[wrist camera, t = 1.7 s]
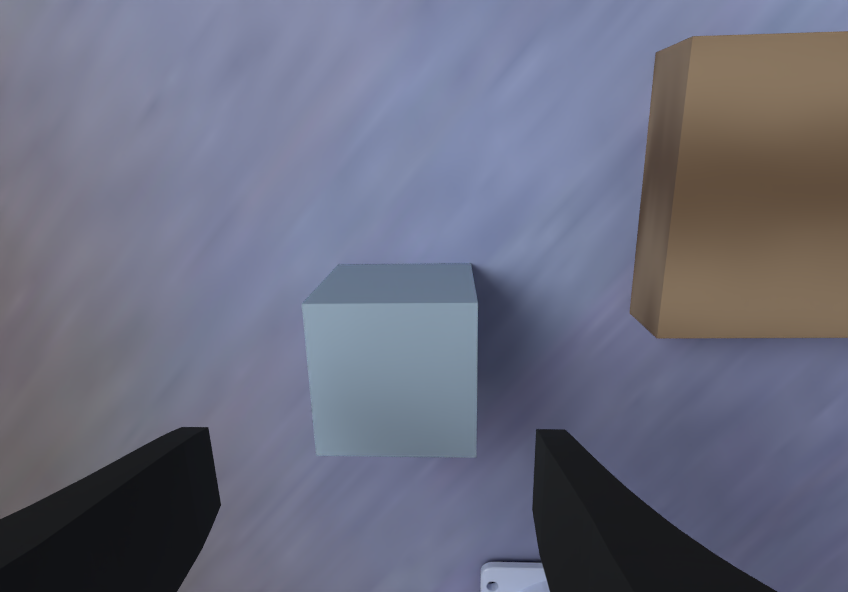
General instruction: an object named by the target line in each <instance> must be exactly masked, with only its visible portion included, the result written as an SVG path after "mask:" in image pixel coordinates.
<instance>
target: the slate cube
mask: <svg viewBox="0 0 848 592" xmlns="http://www.w3.org/2000/svg"><path fill="white" fill-rule="evenodd" d="M302 311H303V322H304V332H305V343H306V353H307V364H308V374H309V385H310V395H311V406H312V416H313V427H314V437H315V448H316V456H378V457H471V458H476V444H477V344H478V301H477V295H476V289H475V284H474V278H473V272H472V267H471V263H441V264H342V265H337V266H336V268H335V269H334V270H333V271H332V272H331V273H330V274H329V275H328V276H327V277H326V278H325V279H324V280H323V282H322V283H321V284H320V285H319V286H318V287H317V288H316V289H315V290H314V291H313V292H312V293H311V294H310V296H309V297H308V298H307V299H306V300H305V301H304V302H303V303H302Z"/></svg>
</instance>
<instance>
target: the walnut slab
mask: <svg viewBox="0 0 848 592" xmlns="http://www.w3.org/2000/svg"><path fill="white" fill-rule="evenodd" d="M630 314H631V315H632V316H633V317H634V318H635V319H636V320H638V321H639V322H640V323H641V324H642V325H643V326H644V327H645V328H646V329H647V330H648V331H649V332H650V333H652V334H653V335H654V336H655V337H656V338H848V31H844V32H813V33H782V34H751V35H720V36H692V37H690V38H688V39H686V40H683V41H681V42H679V43H677V44H674V45H672V46H670V47H668V48H665V49H663V50H661V51H659V52H656V55H655V65H654V75H653V85H652V95H651V105H650V115H649V125H648V135H647V145H646V155H645V165H644V175H643V184H642V194H641V204H640V214H639V224H638V234H637V244H636V254H635V264H634V274H633V284H632V294H631V304H630Z"/></svg>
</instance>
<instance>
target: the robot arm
mask: <svg viewBox="0 0 848 592" xmlns="http://www.w3.org/2000/svg"><path fill="white" fill-rule="evenodd" d="M220 506H221V502H220V496H219V490H218V484H217V478H216V472H215V466H214V459H213V453H212V447H211V441H210V435H209V429H208V427H181V428H178V429H176V430H174V431H171V432H169V433H167V434H165V435H163V436H161V437H159V438H157V439H155V440H153V441H151V442H150V443H148V444H146V445H144V446H142V447H140V448H138V449H137V450H135V451H133V452H131V453H129V454H127V455H126V456H124V457H122V458H120V459H118V460H116V461H115V462H113V463H111V464H109V465H107V466H105V467H103V468H102V469H100V470H98V471H96V472H94V473H92V474H91V475H89V476H87V477H85V478H83V479H81V480H79V481H77V482H75V483H73V484H71V485H69V486H67V487H65V488H63V489H61V490H59V491H58V492H56V493H54V494H52V495H50V496H48V497H46V498H44V499H42V500H40V501H38V502H36V503H34V504H32V505H30V506H28V507H26V508H24V509H22V510H19V511H17V512H15V513H13V514H11V515H9V516H6V517H4V518H2V519H0V592H177V591H178V589H179V587H180V586H181V584H182V582H183V581H184V579H185V577H186V576H187V574H188V572H189V570H190V569H191V567H192V565H193V564H194V562H195V560H196V559H197V557H198V555H199V553H200V552H201V550H202V548H203V546H204V543H205V541H206V539H207V537H208V535H209V532H210V530H211V528H212V526H213V523H214V521H215V518H216V516H217V514H218V511H219V509H220ZM532 510H533V517H534V523H535V529H536V536H537V542H538V548H539V553H540V558H541V561H542V563H525V562H488V563H486V564H484V565H483V566H482V567H481V582H480V592H777V591H775V590H774V589H772V588H770V587H768V586H767V585H765V584H763V583H762V582H760V581H758V580H757V579H755V578H753V577H751V576H750V575H748V574H746V573H745V572H743V571H741V570H740V569H738V568H736V567H735V566H733V565H731V564H730V563H728V562H727V561H725V560H724V559H722V558H720V557H719V556H717V555H716V554H714V553H713V552H711V551H710V550H708V549H707V548H705V547H704V546H702V545H701V544H700V543H698V542H697V541H695V540H694V539H692V538H691V537H689V536H688V535H686V534H685V533H684V532H682V531H681V530H679V529H678V528H677V527H675V526H674V525H673V524H671V523H670V522H669V521H667V520H666V519H665V518H663V517H662V516H661V515H660V514H658V513H657V512H656V511H655V510H653V509H652V508H651V507H650V506H648V505H647V504H646V503H645V502H643V501H642V500H641V499H640V498H638V497H637V496H636V495H635V494H634V493H633V492H631V491H630V490H629V489H628V488H627V487H626V486H624V485H623V484H622V483H621V482H620V481H619V480H618V479H617V478H615V477H614V476H613V475H612V474H611V473H610V472H609V471H608V470H607V469H606V468H605V467H604V466H602V465H601V464H600V463H599V462H598V461H597V460H596V459H595V458H594V457H593V456H592V455H591V454H590V453H589V452H588V451H587V450H586V449H585V448H584V447H583V446H582V445H581V444H580V443H579V442H578V441H577V440H576V439H575V438H574V437H573V436H571V435H570V434H569V433H568V432H567V431H566V430H555V429H536V446H535V467H534V487H533V508H532ZM489 582H495V583H492V584H491V583H489Z"/></svg>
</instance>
